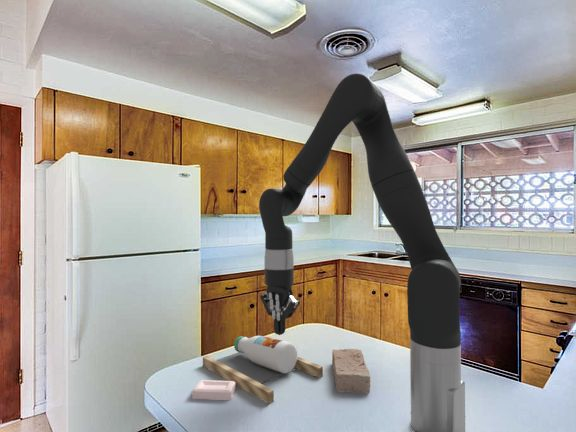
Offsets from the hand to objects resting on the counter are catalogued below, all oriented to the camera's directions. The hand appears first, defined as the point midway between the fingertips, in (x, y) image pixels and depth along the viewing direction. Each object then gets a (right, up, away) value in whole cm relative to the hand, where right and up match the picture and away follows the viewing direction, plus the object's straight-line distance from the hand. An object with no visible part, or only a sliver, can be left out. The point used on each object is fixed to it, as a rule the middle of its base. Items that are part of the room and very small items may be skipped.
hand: (279, 333), depth 88 cm
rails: (-5, -12, +5) cm, 14 cm away
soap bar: (-15, -13, -7) cm, 21 cm away
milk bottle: (+3, -7, +2) cm, 8 cm away
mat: (-8, -12, +8) cm, 17 cm away
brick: (+18, -12, +2) cm, 22 cm away
